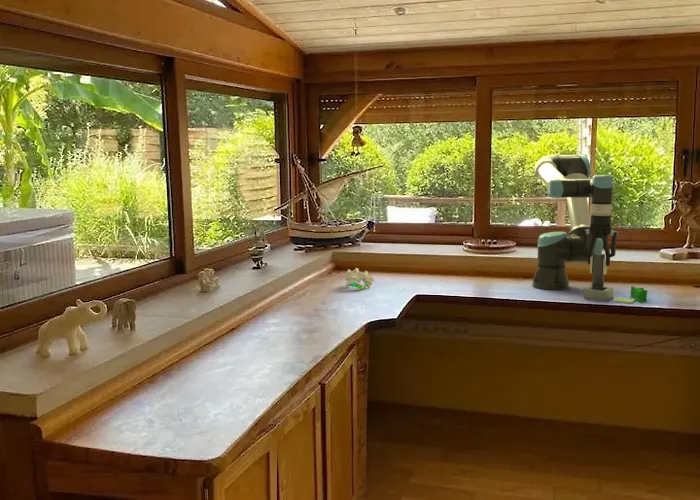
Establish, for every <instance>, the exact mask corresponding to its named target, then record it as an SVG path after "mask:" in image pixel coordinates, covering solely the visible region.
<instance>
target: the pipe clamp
mask: <svg viewBox="0 0 700 500" xmlns="http://www.w3.org/2000/svg"><path fill="white" fill-rule="evenodd" d="M630 289H631V290H630V298H632V299H636V301H635V302H637V303H638V302H639V303H638V304H642V303H643V302H647V301H648V300H647V299H648V290H647V289H645V288H644V287H636V286H634V285H631V286H630Z"/></svg>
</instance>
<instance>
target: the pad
mask: <svg viewBox="0 0 700 500" xmlns="http://www.w3.org/2000/svg"><path fill="white" fill-rule="evenodd" d="M612 302H613V303H622V304H628V305H633V303H634V302H635V303H636V302H637V301H636V299H633V298H632V297H621V296H617V297H615V298H614V299H612Z"/></svg>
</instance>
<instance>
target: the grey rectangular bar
mask: <svg viewBox="0 0 700 500" xmlns="http://www.w3.org/2000/svg"><path fill="white" fill-rule="evenodd" d="M605 257H606V255H605V253H602V254H600V253H596V254H593V272H592V273H591V274H592V278H591V285H592V286H593V287H604V284H605V274H603V264H604V258H605Z"/></svg>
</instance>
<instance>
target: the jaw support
mask: <svg viewBox="0 0 700 500" xmlns="http://www.w3.org/2000/svg"><path fill="white" fill-rule="evenodd" d="M344 277H345V281H346V283H345V289H346V290H348V288H349V287H350V286H351V288H353V287H355V288H357V289H360V290H363V289H365V290H366V289H368V288H369V289H370V288H371V287H372V285H373V283H374V277H372V276H371V274H369V272H368V271H367V270H365V271H364V272H362V271H360V269H359V268H358V267H355V269H353V270H351V269H350V268H348V269H347V271H346V273H345V275H344ZM361 282H363V283H364V284H361Z"/></svg>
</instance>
